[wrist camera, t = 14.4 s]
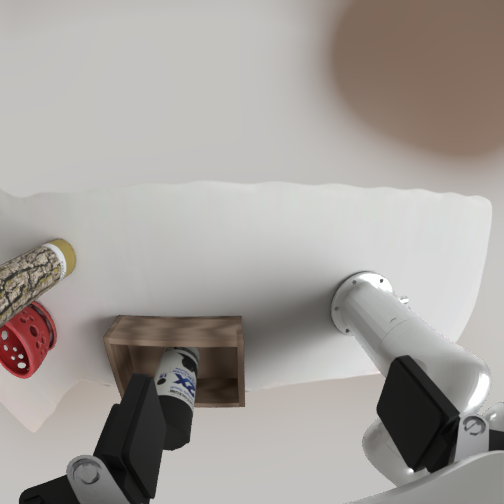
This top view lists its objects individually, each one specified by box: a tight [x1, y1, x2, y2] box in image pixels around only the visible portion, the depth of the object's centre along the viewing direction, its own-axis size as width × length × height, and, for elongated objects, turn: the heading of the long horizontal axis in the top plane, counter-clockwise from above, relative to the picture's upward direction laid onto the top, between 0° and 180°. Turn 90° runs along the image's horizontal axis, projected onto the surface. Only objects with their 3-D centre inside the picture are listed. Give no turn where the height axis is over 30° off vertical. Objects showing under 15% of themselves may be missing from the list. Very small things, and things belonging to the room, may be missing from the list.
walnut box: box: [103, 315, 245, 407], centre depth 46 cm, size 22×14×8 cm, turn 90°
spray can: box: [154, 347, 199, 451], centre depth 39 cm, size 7×7×20 cm
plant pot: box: [0, 301, 57, 379], centre depth 41 cm, size 13×13×12 cm
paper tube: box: [0, 239, 76, 328], centre depth 31 cm, size 7×7×25 cm
